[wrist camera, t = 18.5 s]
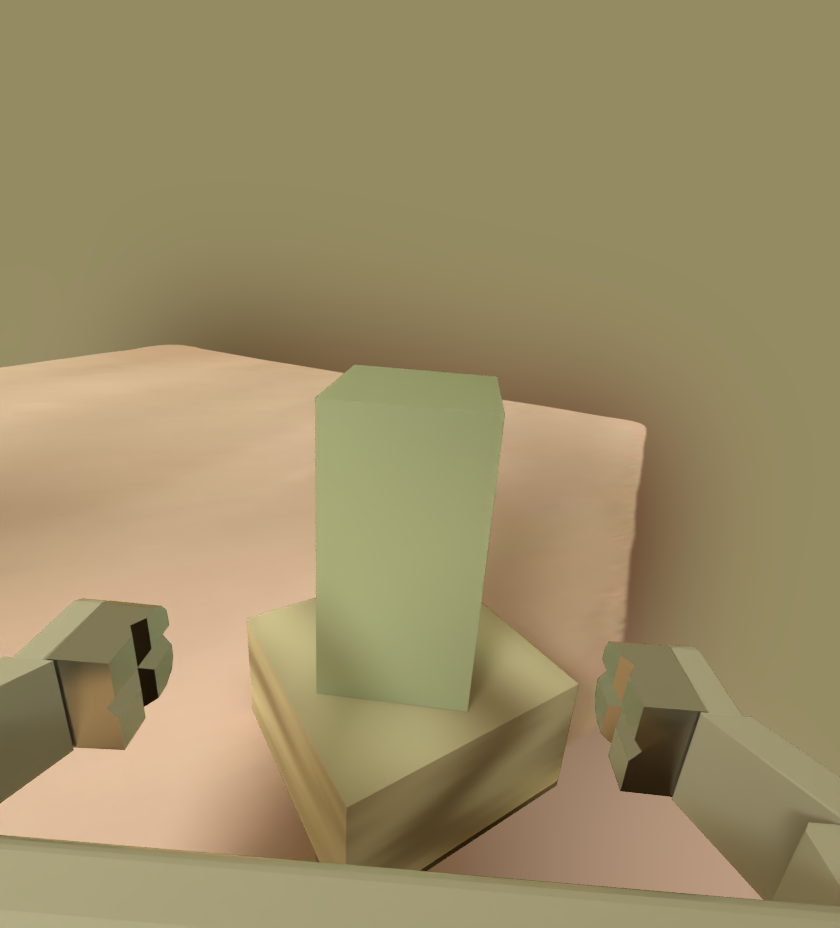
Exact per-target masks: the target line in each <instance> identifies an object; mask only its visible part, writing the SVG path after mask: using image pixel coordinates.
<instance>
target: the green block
mask: <svg viewBox="0 0 840 928" xmlns="http://www.w3.org/2000/svg"><path fill="white" fill-rule="evenodd" d="M504 417H505V413H504V408H503V403H502V398H501V394H500V389H499V384H498V379H497V377H495V376H483V375H471V374H458V373H447V372H435V371H423V370H411V369H399V368H387V367H374V366H363V365H354V366H352V367H351V368H350V369H349V370H348V371H346V372H345V373H344V374H343V375H342V376H340V377H339V378H338V379H337V380H336V381H335V382H333V383H332V384H331V385H330V386H329V387H327V388H326V389H325V390H324V391H323V392H321V393H320V394H319V395H318V396H317V397H316V398H315V495H316V693H319V694H327V695H335V696H343V697H351V698H359V699H367V700H375V701H383V702H391V703H400V704H408V705H416V706H424V707H432V708H440V709H448V710H456V711H464V712H467V711H468V703H469V695H470V687H471V679H472V671H473V663H474V656H475V648H476V640H477V632H478V624H479V616H480V608H481V600H482V592H483V584H484V576H485V568H486V560H487V552H488V544H489V536H490V529H491V521H492V513H493V505H494V497H495V489H496V481H497V473H498V465H499V457H500V449H501V441H502V433H503V425H504Z"/></svg>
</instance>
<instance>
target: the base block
mask: <svg viewBox="0 0 840 928" xmlns="http://www.w3.org/2000/svg"><path fill="white" fill-rule="evenodd" d="M247 633H248V648H249V663H250V679H251V694H252V709H253V712H254V714H255V717H256V719H257V721H258V724H259V726H260V728H261V730H262V733H263V735H264V737H265V740H266V742H267V744H268V746H269V749H270V751H271V753H272V755H273V758H274V760H275V762H276V765H277V767H278V769H279V771H280V774H281V776H282V778H283V781H284V783H285V785H286V787H287V790H288V792H289V794H290V797H291V799H292V801H293V803H294V806H295V808H296V810H297V812H298V815H299V817H300V819H301V822H302V824H303V826H304V828H305V831H306V833H307V835H308V838H309V840H310V842H311V844H312V847H313V849H314V851H315V854H316V856H317V858H316V861H317V862H323V863H335V864H347V865H358V866H370V867H382V868H393V869H405V870H417V871H428V870H429V869H430V868H432V867H434V866H435V865H437V864H438V863H440V862H441V861H443V860H444V859H446V858H447V857H449V856H450V855H452V854H453V853H455V852H456V851H458V850H459V849H461V848H463V847H464V846H466V845H467V844H469V843H470V842H472V841H473V840H474V839H476V838H478V837H479V836H481V835H482V834H484V833H485V832H487V831H488V830H490V829H491V828H493V827H494V826H496V825H497V824H499V823H500V822H502V821H503V820H505V819H507V818H508V817H510V816H511V815H513V814H514V813H516V812H517V811H519V810H520V809H521V808H523V807H525V806H526V805H528V804H529V803H531V802H532V801H534V800H535V799H537V798H538V797H540V796H541V795H543V794H544V793H546V792H547V791H549V790H550V789H552V788H554V787H555V786H557V782H558V778H559V773H560V768H561V763H562V758H563V754H564V750H565V745H566V740H567V736H568V731H569V727H570V722H571V717H572V713H573V708H574V703H575V699H576V694H577V690H578V685H579V684H578V683H577V682H576V681H575V680H573V679H572V678H571V677H570V676H569V675H567V674H566V673H565V672H564V671H563V670H562V669H560V668H559V667H558V666H557V665H556V664H554V663H553V662H552V661H551V660H550V659H549V658H547V657H546V656H545V655H544V654H543V653H541V652H540V651H539V650H538V649H537V648H535V647H534V646H533V645H532V644H531V643H530V642H528V641H527V640H526V639H525V638H524V637H522V636H521V635H520V634H519V633H518V632H516V631H515V630H514V629H513V628H512V627H511V626H509V625H508V624H507V623H506V622H505V621H503V620H502V619H501V618H500V617H499V616H498V615H496V614H495V613H494V612H493V611H492V610H490V609H489V608H488V607H487V606H486V605H484V604H483V603H482V602H481V608H480V616H479V624H478V632H477V640H476V648H475V656H474V663H473V671H472V679H471V687H470V695H469V703H468V711H467V712H464V711H456V710H448V709H440V708H432V707H424V706H416V705H408V704H400V703H391V702H383V701H375V700H367V699H359V698H351V697H343V696H335V695H327V694H319V693H316V598H313V599H310V600H307V601H303V602H300V603H297V604H293V605H290V606H286V607H283V608H280V609H276V610H273V611H270V612H266V613H263V614H259V615H256V616H253V617H249V618H247Z"/></svg>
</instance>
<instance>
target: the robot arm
mask: <svg viewBox="0 0 840 928" xmlns="http://www.w3.org/2000/svg"><path fill="white" fill-rule="evenodd" d="M168 626H169V621H168V615H167V610H166V609H165V608H163V607H162V606H157V605H147V604H137V603H128V602H118V601H105V600H94V599H80V600H76V601H74V602H73V603H72V604H70V605H69V606H68V607H67V608H66V609H65V610H64V611H63V612H62V613H61V614H60V615H58V616H57V617H56V618H55V619H54V620H53V621H52V622H51V623H50V624H49V625H48V626H46V627H45V628H44V629H43V630H42V631H41V632H40V633H39V634H38V635H37V636H36V637H35V638H33V639H32V640H31V641H30V642H29V643H28V644H27V645H26V646H25V647H24V648H23V649H21V650H20V651H19V652H18V653H17V654H16V655H15V656H14V657H2V658H0V803H1V802H3V801H4V800H5V799H7V798H8V797H9V796H11V795H12V794H14V793H15V792H16V791H18V790H19V789H21V788H22V787H23V786H25V785H26V784H27V783H29V782H30V781H32V780H33V779H34V778H36V777H37V776H39V775H40V774H41V773H43V772H44V771H45V770H47V769H48V768H50V767H51V766H52V765H54V764H55V763H57V762H58V761H59V760H61V759H62V758H63V757H65V756H66V755H68V754H69V753H70V752H72V751H73V750H74V749H73V747H77V748H96V749H116V750H125V748H126V747H127V745H128V744H129V742H130V741H131V739H132V738H133V736H134V735H135V733H136V732H137V730H138V729H139V727H140V726H141V724H142V723H143V721H144V719H145V711H144V706H146V705H148V704H149V703H151V702H153V701H154V700H156V699H157V698H159V696H160V695H161V693H162V691H163V690H164V688H165V687H166V685H167V682H168V679H169V676H170V673H171V670H172V661H173V652H172V645H171V643H170V642H169V641H168V640H167V639H166V638H165V637H164V636H163V633H164V631H165V630H166V629H167V627H168ZM603 662H604V664H605V667H606V669H607V671H606V672H605V673H604V674H603V675H602V676H601V677H599V678H598V681H597V686H596V691H595V711H596V717H597V722H598V725H599V729H600V732H601V734H602V735H603V736H604V737H605V738H606V739H607V740H608V741H610V742H611V747H610V751H609V759H610V762H611V765H612V768H613V771H614V773H615V776H616V780H617V782H618V785H619V788H620V791H625V792H634V793H643V794H653V795H662V796H670V797H672V800H673V801H674V802H675V803H676V804H677V806H678V807H679V808H680V809H681V810H682V811H683V812H684V813H685V814H686V815H687V816H688V818H689V819H690V820H691V821H692V822H693V823H694V824H695V825H696V826H697V827H698V829H699V830H700V831H701V832H702V833H703V834H704V835H705V836H706V837H707V838H708V839H709V840H710V842H711V843H712V844H713V845H714V846H715V847H716V848H717V849H718V850H719V851H720V853H721V854H722V855H723V856H724V857H725V858H726V859H727V860H728V861H729V862H730V864H731V865H732V866H733V867H734V868H735V869H736V870H737V871H738V872H739V873H740V874H741V875H742V877H743V878H744V879H745V880H746V881H747V882H748V883H749V884H750V885H751V887H752V888H753V889H754V890H755V891H756V892H757V893H758V894H759V895H760V896H761V897H762V899H763V900H755V899H743V898H732V897H720V896H708V895H696V894H685V893H673V892H661V891H649V890H639V889H627V888H616V887H603V886H592V885H581V884H569V883H557V882H545V881H533V880H522V879H510V878H499V877H487V876H474V875H463V874H451V873H440V872H428V871H417V870H405V869H393V868H382V867H370V866H358V865H347V864H335V863H323V862H312V861H300V860H288V859H276V858H265V857H253V856H241V855H230V854H218V853H206V852H195V851H183V850H171V849H159V848H148V847H136V846H124V845H112V844H101V843H89V842H77V841H66V840H54V839H42V838H30V837H19V836H7V835H0V928H840V777H839V776H838V775H836V774H835V773H833V772H832V771H831V770H829V769H827V768H826V767H825V766H823V765H822V764H820V763H819V762H817V761H816V760H814V759H813V758H812V757H810V756H809V755H807V754H806V753H804V752H803V751H801V750H800V749H798V748H797V747H795V746H794V745H792V744H791V743H790V742H788V741H787V740H785V739H784V738H782V737H781V736H779V735H778V734H776V733H775V732H773V731H772V730H771V729H769V728H768V727H766V726H764V725H763V724H762V723H760V722H758V721H757V720H756V719H754V718H753V717H750V716H742V714H741V713H740V711H739V710H738V708H737V707H736V705H735V704H734V702H733V701H732V699H731V698H730V696H729V695H728V693H727V692H726V690H725V689H724V687H723V686H722V684H721V683H720V681H719V679H718V678H717V676H716V675H715V674H714V672H713V670H712V669H711V668H710V666H709V664H708V663H707V662H706V660H705V658H704V657H703V655H702V654H701V652H700V651H699V650H698V649H697V648H695V647H694V646H683V645H652V644H638V643H624V642H611V641H609V643H608V644H607V646H606V648H605V651H604V655H603Z"/></svg>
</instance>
